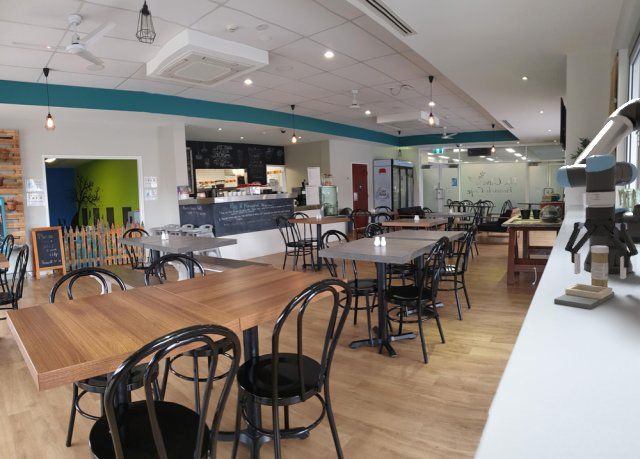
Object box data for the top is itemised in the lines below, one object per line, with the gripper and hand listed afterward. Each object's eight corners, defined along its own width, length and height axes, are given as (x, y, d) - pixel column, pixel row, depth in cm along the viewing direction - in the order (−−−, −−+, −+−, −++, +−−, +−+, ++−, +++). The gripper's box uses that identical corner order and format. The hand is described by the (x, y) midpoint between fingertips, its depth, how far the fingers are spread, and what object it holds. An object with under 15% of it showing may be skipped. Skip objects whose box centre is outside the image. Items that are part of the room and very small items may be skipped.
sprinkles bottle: (597, 286, 133) (597, 244, 132) (611, 289, 129) (612, 246, 128) (587, 288, 132) (587, 246, 130) (601, 291, 127) (601, 247, 126)
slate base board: (579, 291, 128) (579, 282, 128) (614, 296, 121) (614, 287, 121) (554, 303, 117) (554, 293, 117) (590, 309, 110) (590, 298, 110)
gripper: (553, 207, 135) (553, 273, 137) (644, 206, 116) (643, 283, 118) (563, 205, 140) (563, 269, 142) (652, 205, 121) (650, 278, 123)
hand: (599, 275), depth 130 cm, fingers open, 12 cm apart
